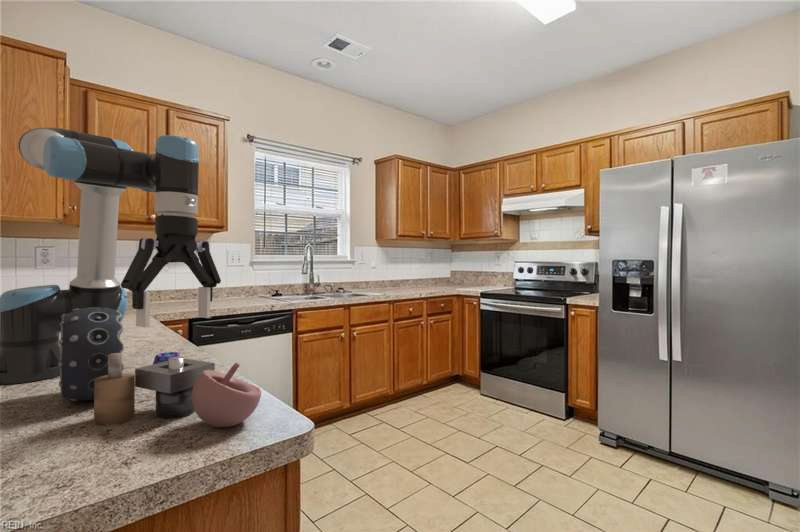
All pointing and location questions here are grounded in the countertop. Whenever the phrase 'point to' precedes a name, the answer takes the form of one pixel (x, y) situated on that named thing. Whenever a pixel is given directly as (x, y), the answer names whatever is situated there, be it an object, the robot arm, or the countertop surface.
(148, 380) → the square hole block
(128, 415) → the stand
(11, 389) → the countertop surface
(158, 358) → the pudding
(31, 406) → the countertop surface
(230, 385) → the mortar and pestle
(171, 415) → the dark bottle with stopper
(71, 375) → the dark grey piece
